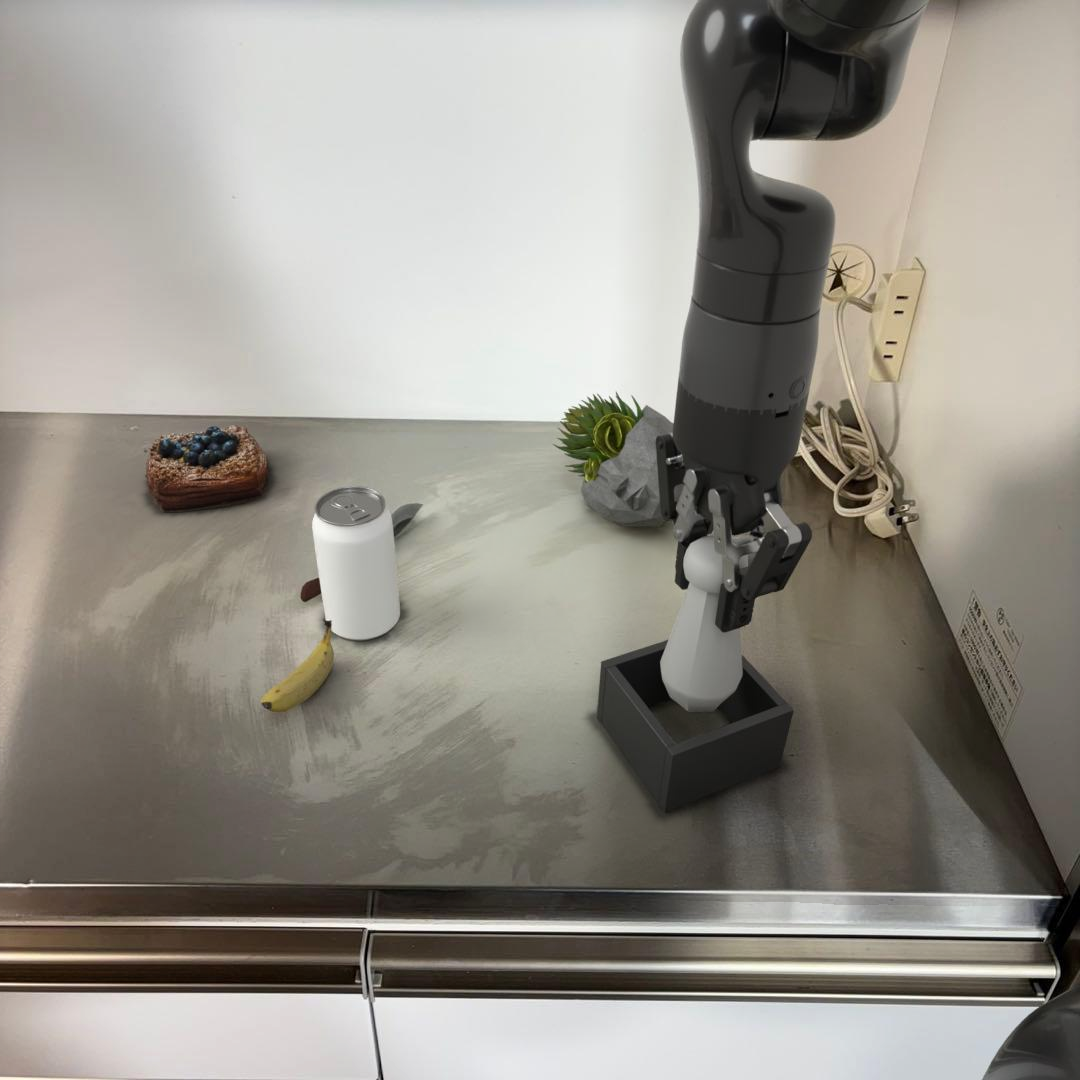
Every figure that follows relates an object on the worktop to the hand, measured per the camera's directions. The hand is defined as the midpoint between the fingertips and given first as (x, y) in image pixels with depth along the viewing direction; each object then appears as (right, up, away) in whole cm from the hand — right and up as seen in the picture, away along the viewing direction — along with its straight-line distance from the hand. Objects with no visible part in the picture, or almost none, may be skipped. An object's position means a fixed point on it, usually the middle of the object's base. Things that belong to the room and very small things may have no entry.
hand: (710, 604), depth 66 cm
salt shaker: (0, -7, +5) cm, 8 cm away
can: (-27, -3, +19) cm, 33 cm away
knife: (-28, +2, +26) cm, 38 cm away
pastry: (-46, +10, +37) cm, 60 cm away
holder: (0, -11, +8) cm, 14 cm away
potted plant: (-3, +8, +34) cm, 35 cm away
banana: (-30, -8, +12) cm, 33 cm away
